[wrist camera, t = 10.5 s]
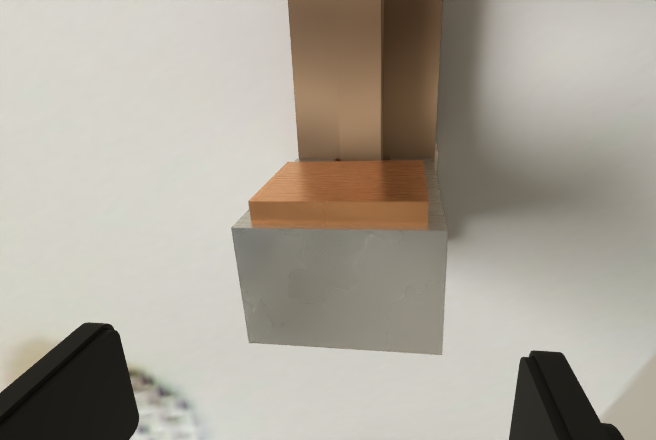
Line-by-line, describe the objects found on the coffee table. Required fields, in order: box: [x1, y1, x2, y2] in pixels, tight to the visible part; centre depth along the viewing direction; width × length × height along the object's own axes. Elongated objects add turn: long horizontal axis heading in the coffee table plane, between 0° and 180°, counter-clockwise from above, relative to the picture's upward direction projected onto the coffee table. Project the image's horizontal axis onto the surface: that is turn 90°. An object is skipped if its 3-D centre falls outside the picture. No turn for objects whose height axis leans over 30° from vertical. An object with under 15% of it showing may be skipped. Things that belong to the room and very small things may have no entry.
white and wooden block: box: [231, 157, 448, 355], centre depth 16 cm, size 5×6×8 cm
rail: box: [288, 0, 443, 176], centre depth 14 cm, size 20×6×10 cm, turn 2°
